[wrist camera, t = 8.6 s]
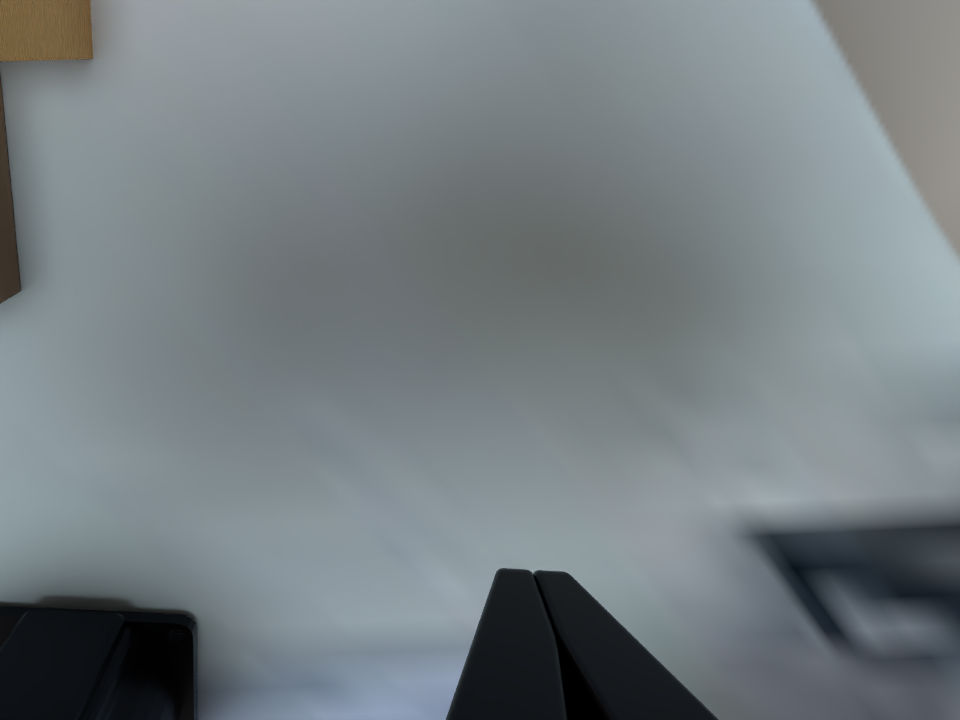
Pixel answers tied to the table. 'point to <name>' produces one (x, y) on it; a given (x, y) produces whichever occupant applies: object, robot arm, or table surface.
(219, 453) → the table surface
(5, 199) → the walnut block
